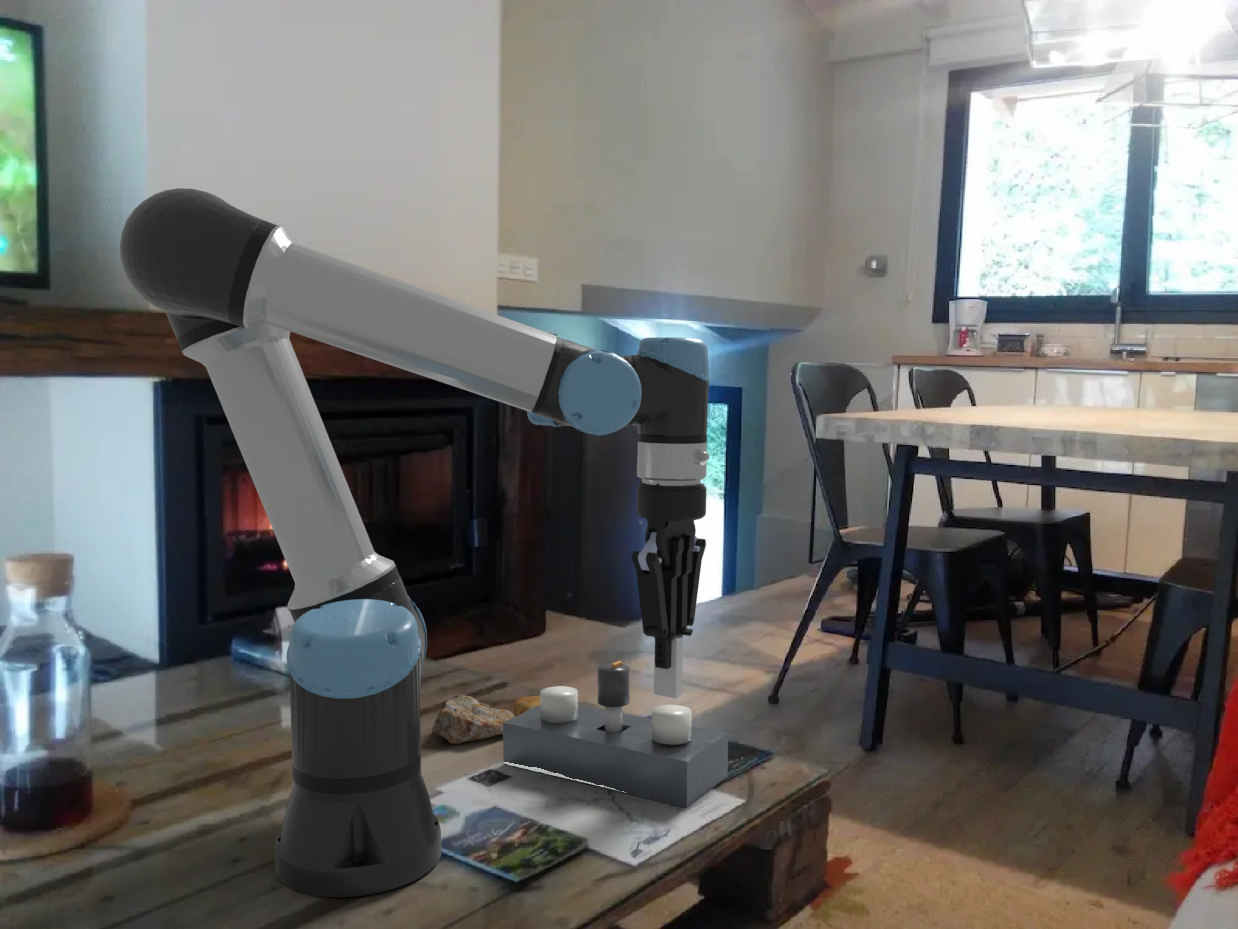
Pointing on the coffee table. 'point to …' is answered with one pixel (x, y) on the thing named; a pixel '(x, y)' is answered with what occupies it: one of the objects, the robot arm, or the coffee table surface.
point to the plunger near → (671, 724)
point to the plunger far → (559, 704)
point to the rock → (469, 720)
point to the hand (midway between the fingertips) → (667, 694)
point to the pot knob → (613, 693)
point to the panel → (619, 755)
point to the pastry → (525, 704)
